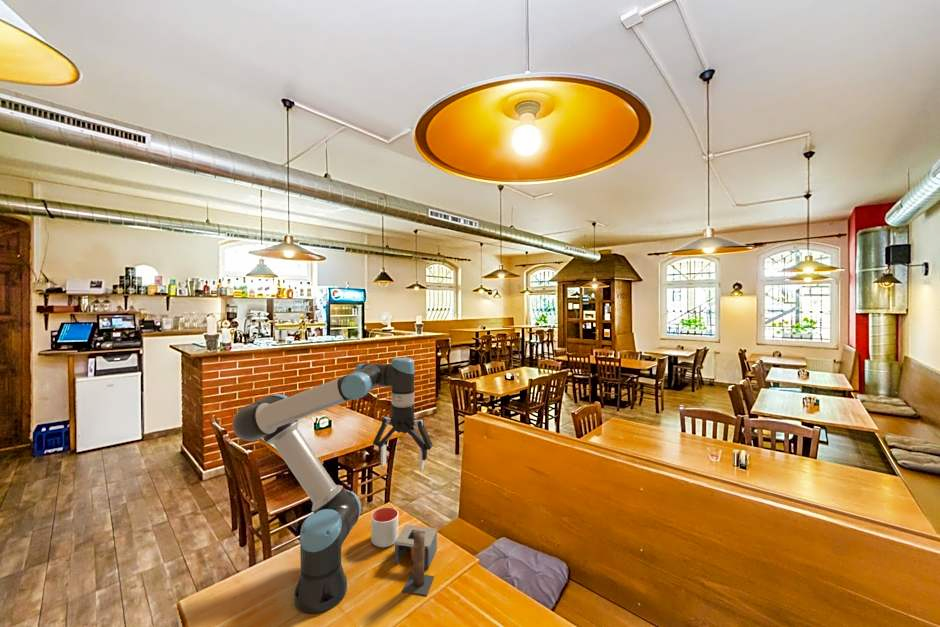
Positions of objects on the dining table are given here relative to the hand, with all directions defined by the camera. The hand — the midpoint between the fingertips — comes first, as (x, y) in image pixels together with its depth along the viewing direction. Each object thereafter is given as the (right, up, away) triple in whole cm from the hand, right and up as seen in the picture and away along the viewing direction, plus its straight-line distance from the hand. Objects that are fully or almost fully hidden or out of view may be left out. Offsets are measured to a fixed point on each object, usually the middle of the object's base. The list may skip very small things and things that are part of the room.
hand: (402, 467), depth 127 cm
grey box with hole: (+4, -35, +7) cm, 35 cm away
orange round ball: (+4, -35, +7) cm, 35 cm away
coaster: (+6, -35, -6) cm, 36 cm away
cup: (-9, -34, +16) cm, 39 cm away
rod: (+6, -35, -6) cm, 36 cm away
